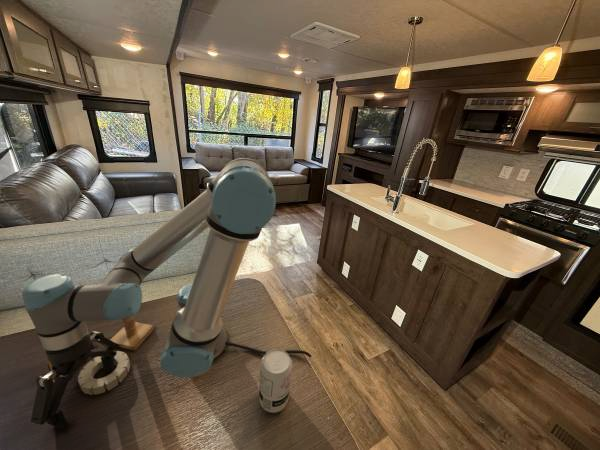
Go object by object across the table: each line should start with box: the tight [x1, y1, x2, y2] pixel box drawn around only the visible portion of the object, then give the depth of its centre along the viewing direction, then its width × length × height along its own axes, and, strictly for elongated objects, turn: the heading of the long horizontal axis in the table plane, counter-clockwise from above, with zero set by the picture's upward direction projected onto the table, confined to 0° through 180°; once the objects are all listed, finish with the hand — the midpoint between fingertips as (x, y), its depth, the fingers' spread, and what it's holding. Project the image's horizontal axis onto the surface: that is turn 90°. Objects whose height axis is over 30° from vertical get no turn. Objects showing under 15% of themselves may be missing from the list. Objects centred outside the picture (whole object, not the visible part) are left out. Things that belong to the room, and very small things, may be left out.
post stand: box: [110, 315, 155, 351], centre depth 80 cm, size 9×9×14 cm
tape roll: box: [77, 350, 131, 396], centre depth 70 cm, size 11×11×3 cm
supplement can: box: [258, 348, 293, 414], centre depth 65 cm, size 8×8×15 cm
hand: (89, 397), depth 64 cm, fingers open, 13 cm apart
